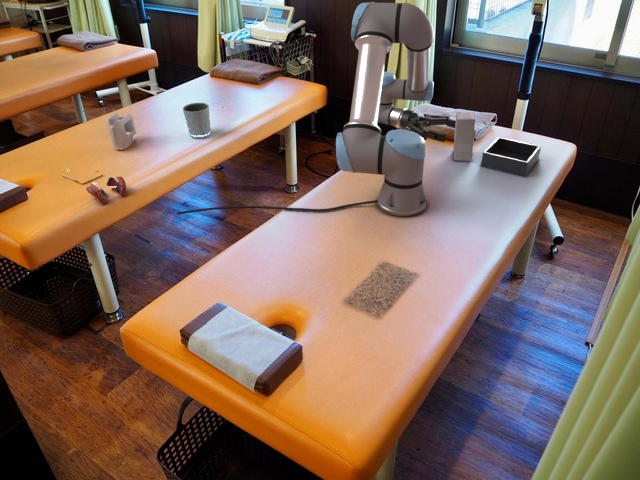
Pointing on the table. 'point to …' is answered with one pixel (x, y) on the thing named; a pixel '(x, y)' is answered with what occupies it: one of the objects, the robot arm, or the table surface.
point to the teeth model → (113, 181)
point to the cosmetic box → (464, 136)
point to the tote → (511, 156)
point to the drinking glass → (197, 119)
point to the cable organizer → (121, 130)
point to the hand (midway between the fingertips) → (454, 132)
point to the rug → (381, 288)
